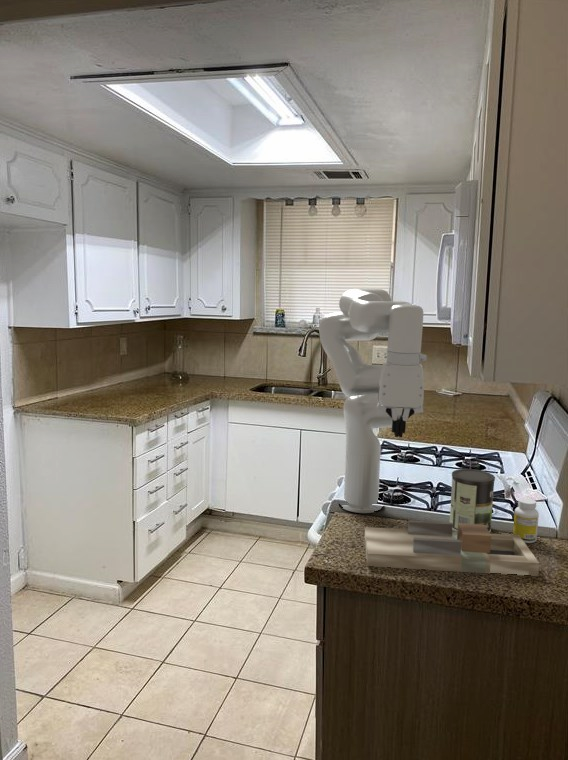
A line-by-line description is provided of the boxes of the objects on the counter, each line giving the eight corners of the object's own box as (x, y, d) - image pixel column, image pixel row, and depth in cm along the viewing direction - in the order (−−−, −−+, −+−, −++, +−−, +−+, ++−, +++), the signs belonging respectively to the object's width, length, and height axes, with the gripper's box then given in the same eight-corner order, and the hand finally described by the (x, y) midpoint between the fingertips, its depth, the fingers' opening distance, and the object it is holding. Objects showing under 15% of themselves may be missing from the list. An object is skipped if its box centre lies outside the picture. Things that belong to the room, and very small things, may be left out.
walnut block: (457, 539, 133) (458, 523, 132) (483, 541, 132) (485, 524, 132) (461, 551, 127) (463, 534, 126) (490, 553, 126) (491, 535, 126)
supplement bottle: (518, 532, 145) (521, 495, 143) (540, 539, 141) (543, 500, 139) (508, 538, 141) (511, 500, 140) (530, 545, 137) (534, 506, 136)
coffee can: (487, 522, 151) (491, 470, 149) (493, 538, 141) (498, 483, 139) (447, 518, 153) (450, 467, 151) (450, 534, 143) (453, 479, 141)
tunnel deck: (364, 538, 140) (365, 515, 139) (518, 547, 136) (520, 523, 135) (367, 566, 126) (368, 540, 125) (538, 576, 123) (540, 549, 122)
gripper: (433, 357, 136) (427, 432, 139) (369, 355, 137) (365, 429, 140) (439, 363, 128) (433, 442, 132) (371, 360, 129) (367, 438, 133)
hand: (398, 435), depth 136 cm, fingers closed
